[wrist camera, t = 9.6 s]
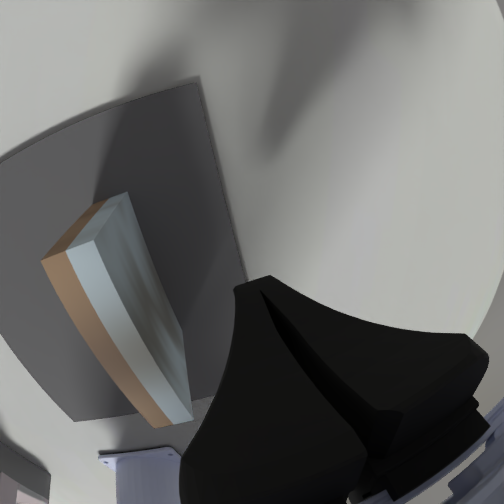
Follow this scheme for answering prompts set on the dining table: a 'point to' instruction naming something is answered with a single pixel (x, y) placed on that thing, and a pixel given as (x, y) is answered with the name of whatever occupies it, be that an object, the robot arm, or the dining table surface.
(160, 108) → the mat
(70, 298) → the tile
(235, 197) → the dining table surface
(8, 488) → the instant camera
